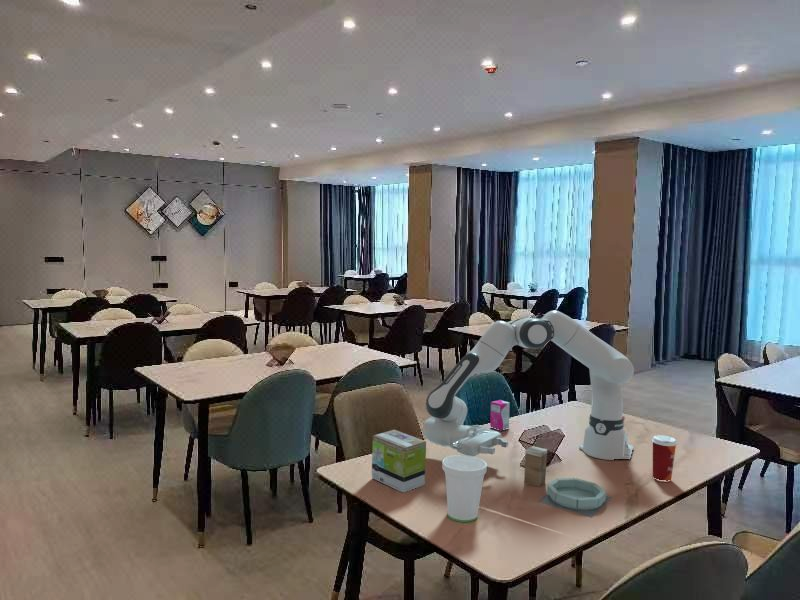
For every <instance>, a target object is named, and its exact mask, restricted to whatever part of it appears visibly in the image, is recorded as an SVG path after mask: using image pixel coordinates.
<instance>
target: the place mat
mask: <svg viewBox="0 0 800 600" xmlns="http://www.w3.org/2000/svg"><path fill="white" fill-rule="evenodd" d="M612 498H613V497H612V496H609V495H606V500H605V501H604V502H603V503H602V506H601V507H600V508H598V509H595V510H574V509H569V508H566V507H563V506H560V505H558V504H556V503H555V502H553V501H552V500H551V499H550V495H549V494H548V493H547V494H546V495H545V496H544V497H542V498H541V499H540V500H539V501H538V503H541V504H545V505H548V506H551V507H555V508H558V509H561V510H564V511H568V512H571V513H575V514H579V515H581V516H584V517H588V518H593V517H594V516H595V515H596V514H597V513H598V512H600V510H601V509H602V508H603V507H604V506H605V505H606V504H607V503H608V502H609V501H610V500H611V499H612Z"/></svg>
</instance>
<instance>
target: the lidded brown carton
mask: <svg viewBox="0 0 800 600" xmlns="http://www.w3.org/2000/svg"><path fill="white" fill-rule="evenodd" d="M547 454H548V449H546V448H544V447H542V448H541V447H538V446H534V445H532V446H530V447H528V448H526V449H525V455H524V456H525V457H524V459H525V461H524V481H523V482H524V483H523V484H527V485H530V486H534V487H537V488H539V487H541V486H542V485H543V484H546V475H547V473H546V472H547V456H548V455H547Z"/></svg>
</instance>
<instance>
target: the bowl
mask: <svg viewBox="0 0 800 600" xmlns="http://www.w3.org/2000/svg"><path fill="white" fill-rule="evenodd" d="M546 486H547V488H546V489H547V490H546V493H547V495H548V494H549V495H550V499H551V500H552V501H553V502H555V503H556V504H558V505H560V506H563V507H566V508H569V509H574V510H595V509H598V508H600V507H601V506H602V503H603V502H604V501H605V500H606V496H607V491H606V490H604V489H603V488H602V487H601V486H600V485H598V484H597V483H596V482H592V481H588V480H584V479H581V478H577V477H576V478H575V477H565V478H564V477H563V478H559V477H558V478H554V479H553V480H552V481H550V482H548V484H547V485H546Z"/></svg>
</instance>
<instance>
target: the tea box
mask: <svg viewBox="0 0 800 600" xmlns="http://www.w3.org/2000/svg"><path fill="white" fill-rule="evenodd" d="M371 449H372V451H371V453H372V454H371V455H372V456H371V479H372V480H375V481H378V482H379V483H381V484H384V485H386V486H388V487H390V488H392V489H394V490H396V491H398V492H400V493H402V492H403V493H402V494H404V492H405V493H407V491H408V492H410V491H413V490H416V489H418V488H420V487H423V486H425V484H426V461H427V460H426V459H427V441H426V440H423V439H421V438H418V437H417V436H416V437H415V436H412V435H410V434H407V433H405V432H402V431H400V430H398V429H397V430H396V429H391V430H388V431H385V432H381V433H377V434H375V435H374V434H373V435H372V447H371ZM415 488H416V489H415ZM412 489H413V490H412ZM409 490H410V491H409Z"/></svg>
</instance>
